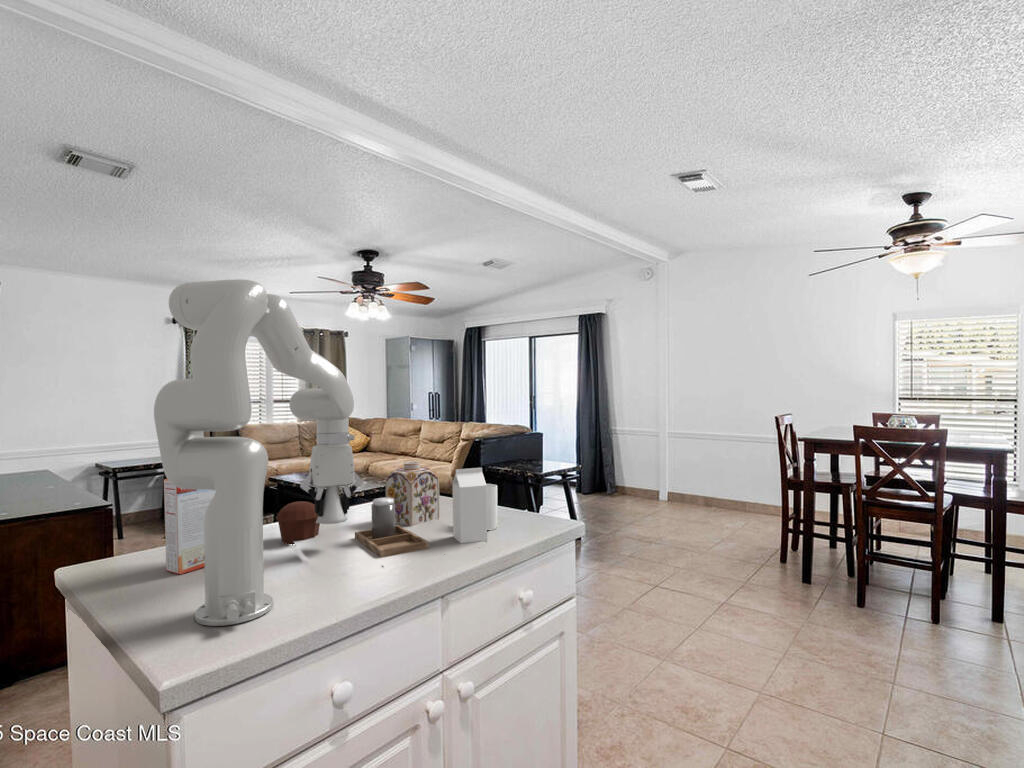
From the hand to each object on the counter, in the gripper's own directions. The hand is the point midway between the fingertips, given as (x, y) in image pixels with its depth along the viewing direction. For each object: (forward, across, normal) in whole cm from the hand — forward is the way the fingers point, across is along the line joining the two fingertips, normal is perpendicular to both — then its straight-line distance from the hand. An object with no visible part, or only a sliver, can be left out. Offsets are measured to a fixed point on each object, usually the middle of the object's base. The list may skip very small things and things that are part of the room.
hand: (332, 513), depth 133 cm
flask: (+2, 0, 0) cm, 2 cm away
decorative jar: (+8, -28, -16) cm, 33 cm away
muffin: (+9, +4, -17) cm, 20 cm away
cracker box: (+10, +27, -9) cm, 30 cm away
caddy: (+9, -14, +4) cm, 17 cm away
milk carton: (+9, -32, +12) cm, 35 cm away
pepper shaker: (+8, -14, -1) cm, 16 cm away
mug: (+8, -42, +1) cm, 43 cm away
